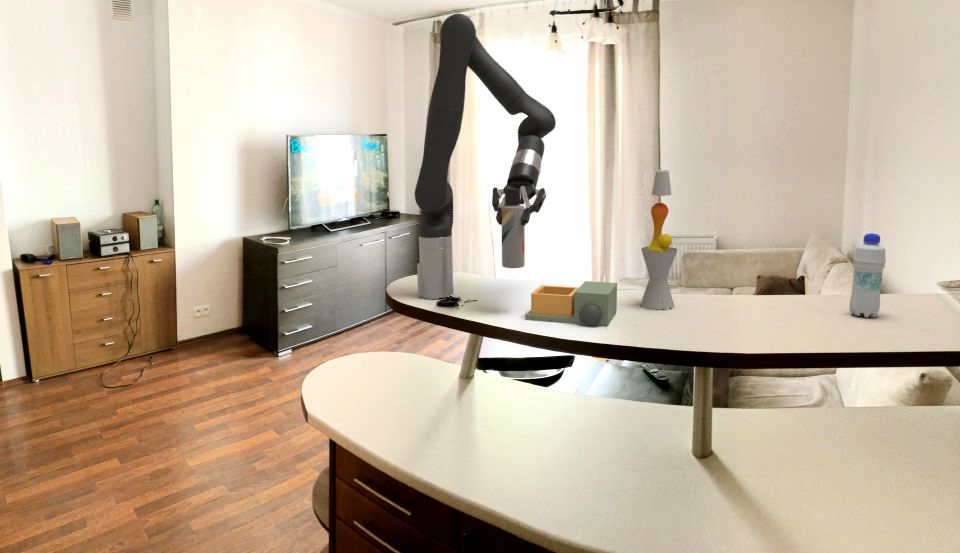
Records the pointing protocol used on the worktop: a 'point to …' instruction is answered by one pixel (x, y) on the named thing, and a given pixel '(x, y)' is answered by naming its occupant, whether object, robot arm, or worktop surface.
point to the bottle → (867, 276)
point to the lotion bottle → (513, 229)
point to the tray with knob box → (575, 304)
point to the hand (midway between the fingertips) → (511, 222)
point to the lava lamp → (659, 251)
